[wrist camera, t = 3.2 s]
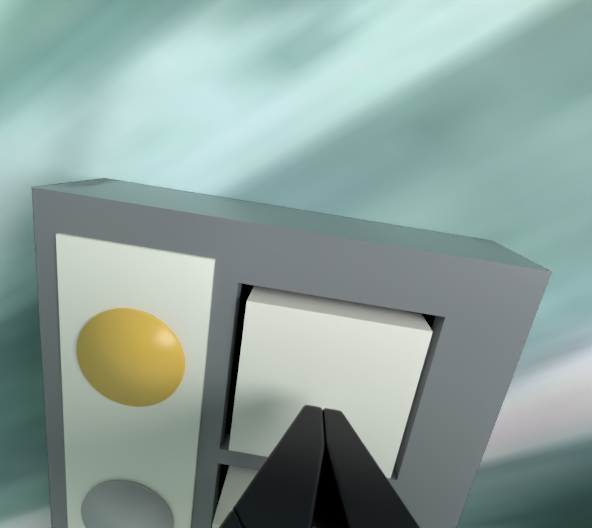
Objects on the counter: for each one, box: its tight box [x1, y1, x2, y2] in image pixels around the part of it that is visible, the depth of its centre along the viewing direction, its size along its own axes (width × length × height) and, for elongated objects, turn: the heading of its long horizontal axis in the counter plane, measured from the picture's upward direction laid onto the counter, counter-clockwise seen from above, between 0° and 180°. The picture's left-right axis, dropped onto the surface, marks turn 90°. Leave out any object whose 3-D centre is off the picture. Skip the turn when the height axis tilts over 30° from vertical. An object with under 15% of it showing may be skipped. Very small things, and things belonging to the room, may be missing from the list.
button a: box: [229, 285, 433, 478], centre depth 11 cm, size 4×4×2 cm
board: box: [32, 178, 552, 528], centre depth 13 cm, size 12×19×3 cm, turn 171°
